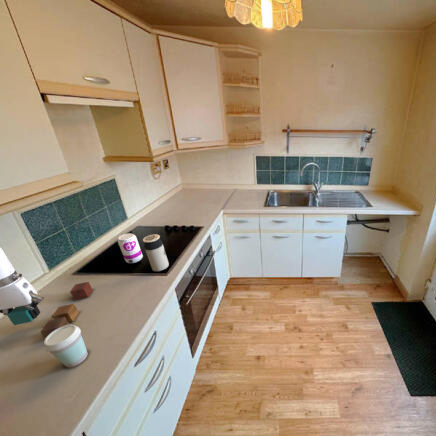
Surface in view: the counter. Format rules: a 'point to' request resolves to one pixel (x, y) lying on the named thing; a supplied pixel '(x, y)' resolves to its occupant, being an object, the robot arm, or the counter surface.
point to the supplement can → (130, 248)
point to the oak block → (66, 312)
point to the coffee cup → (66, 345)
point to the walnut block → (53, 325)
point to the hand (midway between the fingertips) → (26, 317)
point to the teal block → (20, 315)
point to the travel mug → (155, 252)
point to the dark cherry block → (81, 290)
